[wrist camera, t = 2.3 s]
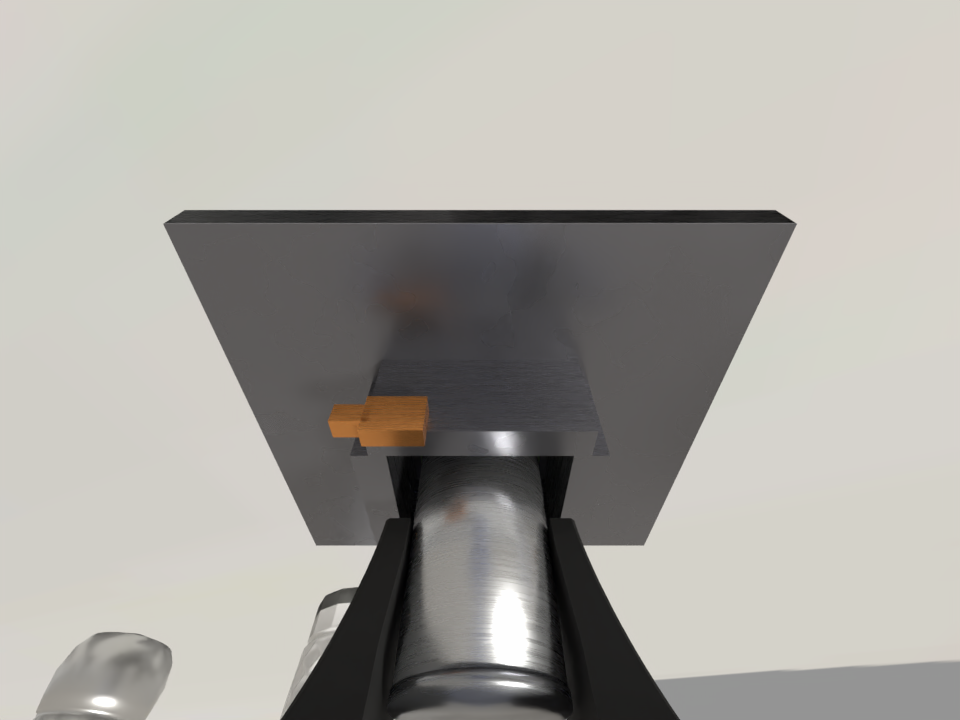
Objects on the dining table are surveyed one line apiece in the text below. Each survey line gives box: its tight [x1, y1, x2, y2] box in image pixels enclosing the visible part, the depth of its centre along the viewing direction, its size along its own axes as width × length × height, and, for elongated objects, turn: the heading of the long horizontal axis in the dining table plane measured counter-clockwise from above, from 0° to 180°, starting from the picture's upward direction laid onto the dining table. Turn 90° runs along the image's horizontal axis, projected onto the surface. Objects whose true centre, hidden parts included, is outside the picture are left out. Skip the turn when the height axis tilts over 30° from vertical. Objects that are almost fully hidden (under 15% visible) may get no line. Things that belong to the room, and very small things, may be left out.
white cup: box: [280, 587, 395, 720], centre depth 24 cm, size 8×8×10 cm
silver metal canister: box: [387, 456, 573, 720], centre depth 13 cm, size 4×4×8 cm
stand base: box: [163, 210, 797, 546], centre depth 15 cm, size 16×16×4 cm
